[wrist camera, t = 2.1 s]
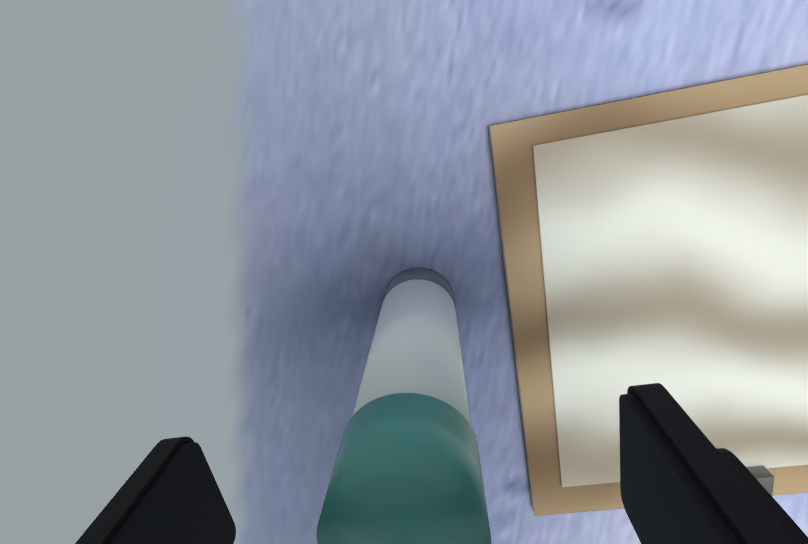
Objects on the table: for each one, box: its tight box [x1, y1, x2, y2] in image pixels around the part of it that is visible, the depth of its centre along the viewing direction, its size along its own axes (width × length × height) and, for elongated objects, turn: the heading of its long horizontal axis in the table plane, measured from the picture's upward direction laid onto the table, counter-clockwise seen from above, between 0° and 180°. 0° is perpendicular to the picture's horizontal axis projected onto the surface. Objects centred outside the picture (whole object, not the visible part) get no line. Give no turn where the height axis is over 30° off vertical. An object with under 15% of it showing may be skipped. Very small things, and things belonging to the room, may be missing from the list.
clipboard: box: [488, 64, 808, 516], centre depth 18 cm, size 20×16×2 cm
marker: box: [317, 268, 491, 544], centre depth 14 cm, size 3×3×12 cm
